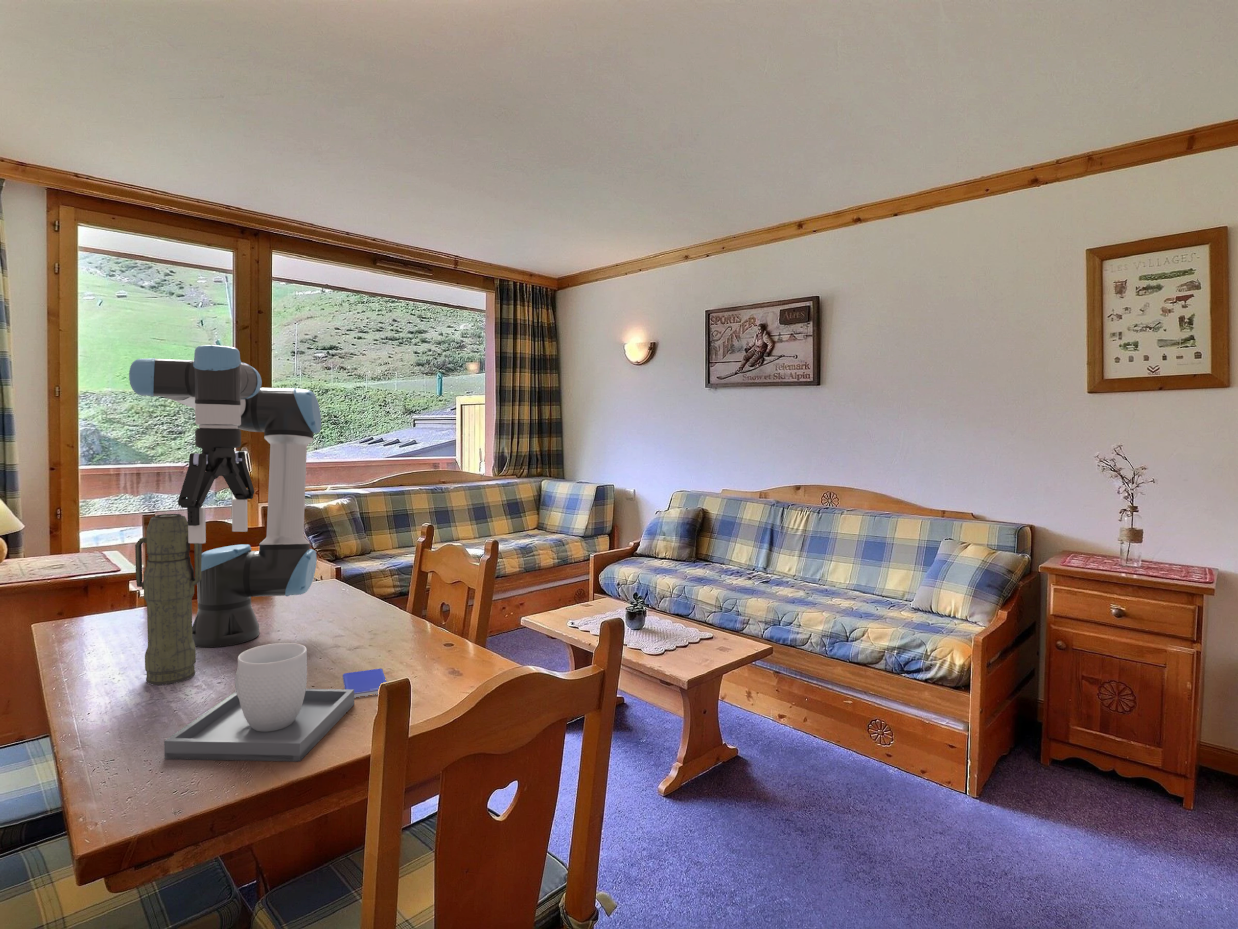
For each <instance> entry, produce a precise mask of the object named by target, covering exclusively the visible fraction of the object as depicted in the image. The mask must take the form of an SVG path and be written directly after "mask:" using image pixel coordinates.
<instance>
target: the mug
mask: <svg viewBox="0 0 1238 929" xmlns="http://www.w3.org/2000/svg"><path fill="white" fill-rule="evenodd" d="M307 677H308V650H307V647H306V646H305V645H303V644H300V643H295V642H276V643H275V642H274V643H268V644H263V645H258V646H255V647H252V648H249V649H247V650H244V651H242V652H241V653H240V654H239V655H238V656H237V669H236V673H235V677H234V678H235V679H234V688H235V692H236V694H237V696H238V698H239V701H240V705H241V709H242V711H243V714H244V716H245V719H246V721H247V722H248V724H249V725H250V726H251V727H252V728H253V729H254V730H256V731H260V732H271V731H276V730H280V729H283V728H285V727H287V726H289V725H291V724H292V723H293V722H294V720H295V719H296V717H297V715H298V713H299V712H300V709H301V707H302V704H303V700H304V696H305V692H306V689H307V680H308V678H307Z"/></svg>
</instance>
